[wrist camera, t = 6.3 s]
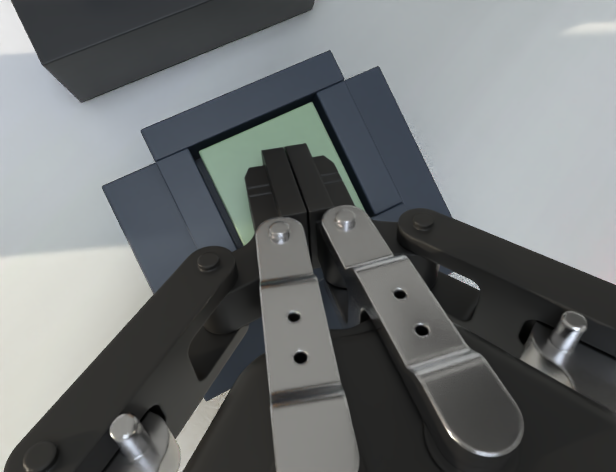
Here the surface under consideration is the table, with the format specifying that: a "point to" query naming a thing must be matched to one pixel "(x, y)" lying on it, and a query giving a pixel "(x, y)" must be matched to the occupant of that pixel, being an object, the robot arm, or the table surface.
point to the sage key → (247, 153)
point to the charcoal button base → (137, 35)
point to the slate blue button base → (238, 118)
